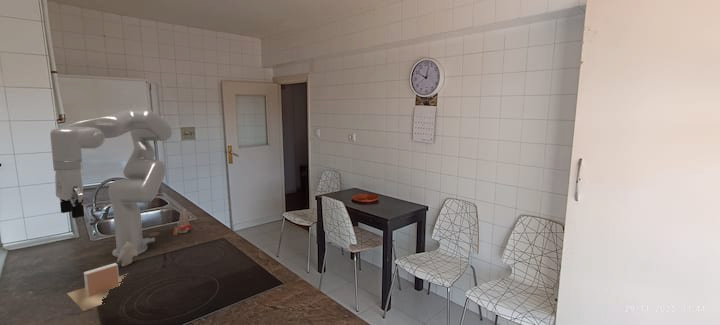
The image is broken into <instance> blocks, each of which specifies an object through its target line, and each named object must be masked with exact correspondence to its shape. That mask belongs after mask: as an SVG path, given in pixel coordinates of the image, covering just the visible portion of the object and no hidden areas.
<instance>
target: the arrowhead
mask: <svg viewBox="0 0 720 325" xmlns="http://www.w3.org/2000/svg"><path fill="white" fill-rule="evenodd" d="M138 255H139V254H138V253H137V251H136V249H135V248H134V246H133V245H132V244H131V243H130V242H127V243H126V244H125V245H124V247H123V248H122V249H121V251H120V254H119V256H118V257H116V258H117V259H116V263H119V262H120V261H121V267H125V266H128V265H131V264H132V263H133V258H134V257H138Z"/></svg>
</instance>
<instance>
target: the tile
mask: <svg viewBox="0 0 720 325" xmlns="http://www.w3.org/2000/svg"><path fill="white" fill-rule="evenodd" d="M119 276H120V274H119V265H118V264H117V262H114V263H110V264H107V265H103V266H100V267H97V268H94V269H90V270H87V271H83V278H84V279H83V280H84V288H85V289H86V295H87V296H88V297H90V296H93V295H96V294H99V293H101V292H104V291H107V290H110V289H113V288H115V287H118V286H120V284H119Z"/></svg>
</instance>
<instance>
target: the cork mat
mask: <svg viewBox="0 0 720 325" xmlns="http://www.w3.org/2000/svg"><path fill="white" fill-rule="evenodd" d="M127 274H128V273H125V274H121V275H119V282H121V281H122V279H124V277H126V276H124V275H127ZM122 283H123V282H122ZM119 284H121V283H119ZM108 292H109V290H107V291H104V292H101V293H99V294H96V295H93V296H90V297H88V296H87V295H86V289H85V287H83V288H79V289H76V290H73V291H70V292H67V293H66V295H68V296H69V297H70V298H71V299H72V301H73V302H75V304H76V305H77V307H79V308H80V309H81V310H82V311H83V312H84V311H87V310H90V309H93V308H96V307H99V306H101V305H103V304H102V302H103V301H102V299H104V298H106V297H107V295H108V294H109V293H108ZM103 297H104V298H103Z"/></svg>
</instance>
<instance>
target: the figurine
mask: <svg viewBox="0 0 720 325" xmlns="http://www.w3.org/2000/svg"><path fill="white" fill-rule="evenodd" d="M176 224H177V225H176V226H175V227H174V230H173V234H172V235H173V236H178V234H186V233H188V231H189V229H191V228H192V225H191V224H190V220H189V216H188V212H187V210H186V209H182V210H181V212H179V220H178V221H177V223H176Z"/></svg>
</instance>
